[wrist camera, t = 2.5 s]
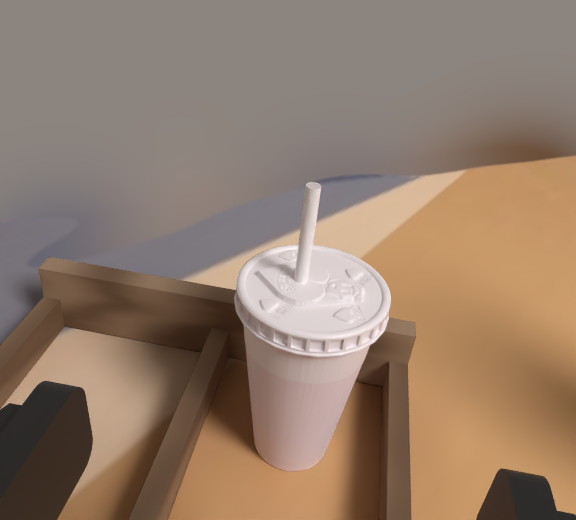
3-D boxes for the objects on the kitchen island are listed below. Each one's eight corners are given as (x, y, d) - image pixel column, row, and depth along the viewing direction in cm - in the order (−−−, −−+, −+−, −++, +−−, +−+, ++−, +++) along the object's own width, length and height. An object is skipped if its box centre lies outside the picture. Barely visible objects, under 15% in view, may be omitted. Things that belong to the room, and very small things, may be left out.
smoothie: (247, 379, 31) (265, 142, 23) (361, 406, 30) (419, 169, 22) (208, 477, 26) (215, 212, 18) (345, 513, 25) (415, 251, 17)
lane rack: (-98, 500, 23) (-129, 439, 21) (58, 310, 34) (49, 257, 32) (401, 612, 21) (425, 557, 19) (400, 374, 32) (415, 322, 30)
